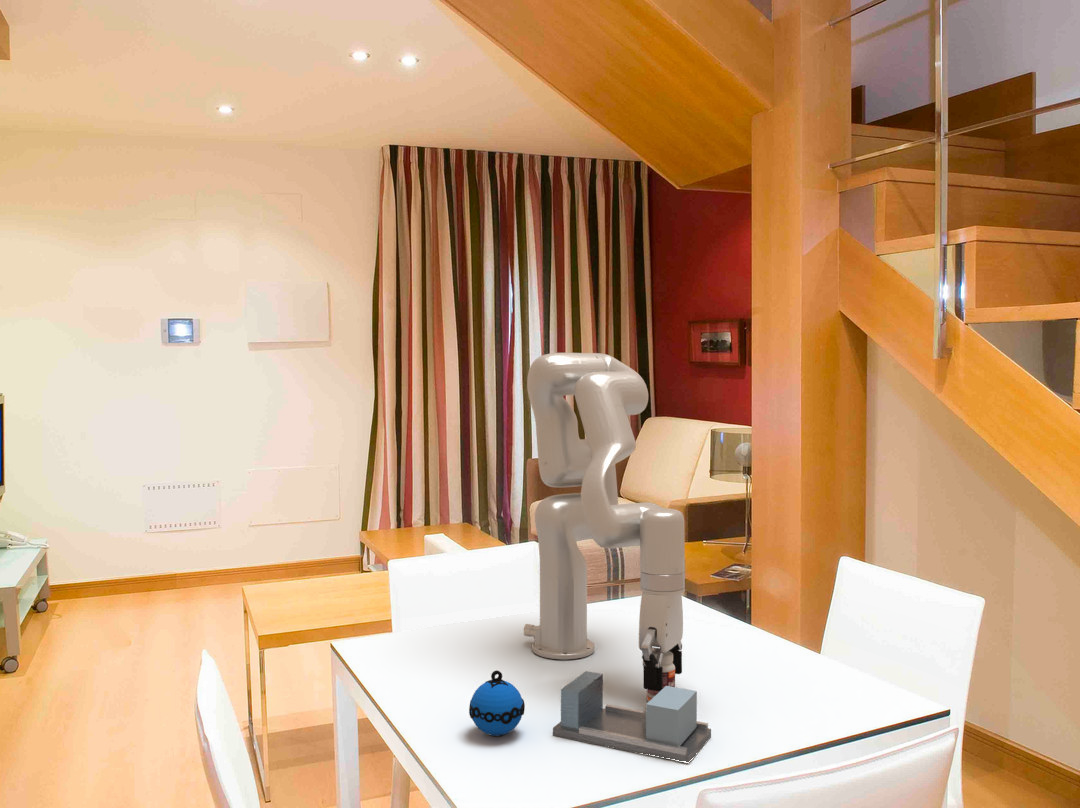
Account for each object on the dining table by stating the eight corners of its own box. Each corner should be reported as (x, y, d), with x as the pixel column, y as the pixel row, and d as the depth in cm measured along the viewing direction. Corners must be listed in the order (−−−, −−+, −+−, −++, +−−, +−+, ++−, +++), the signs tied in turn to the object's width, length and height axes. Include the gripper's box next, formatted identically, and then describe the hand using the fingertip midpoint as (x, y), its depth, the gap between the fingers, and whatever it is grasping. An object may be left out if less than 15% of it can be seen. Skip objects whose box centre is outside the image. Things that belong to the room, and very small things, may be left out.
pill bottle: (674, 707, 153) (674, 658, 153) (645, 705, 154) (646, 656, 154) (675, 697, 158) (676, 649, 157) (648, 695, 159) (648, 647, 158)
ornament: (480, 749, 136) (480, 683, 136) (462, 728, 144) (462, 666, 144) (533, 739, 140) (533, 675, 139) (512, 719, 148) (512, 659, 147)
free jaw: (645, 741, 135) (646, 704, 135) (665, 721, 143) (666, 685, 143) (677, 748, 133) (678, 710, 133) (696, 727, 141) (696, 691, 141)
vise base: (552, 735, 141) (552, 689, 141) (582, 711, 151) (582, 668, 151) (688, 764, 131) (689, 715, 131) (711, 736, 141) (711, 690, 141)
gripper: (659, 570, 164) (659, 664, 165) (622, 590, 149) (623, 693, 149) (699, 573, 161) (699, 669, 161) (666, 594, 145) (667, 700, 146)
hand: (663, 681), depth 155 cm, fingers open, 9 cm apart
